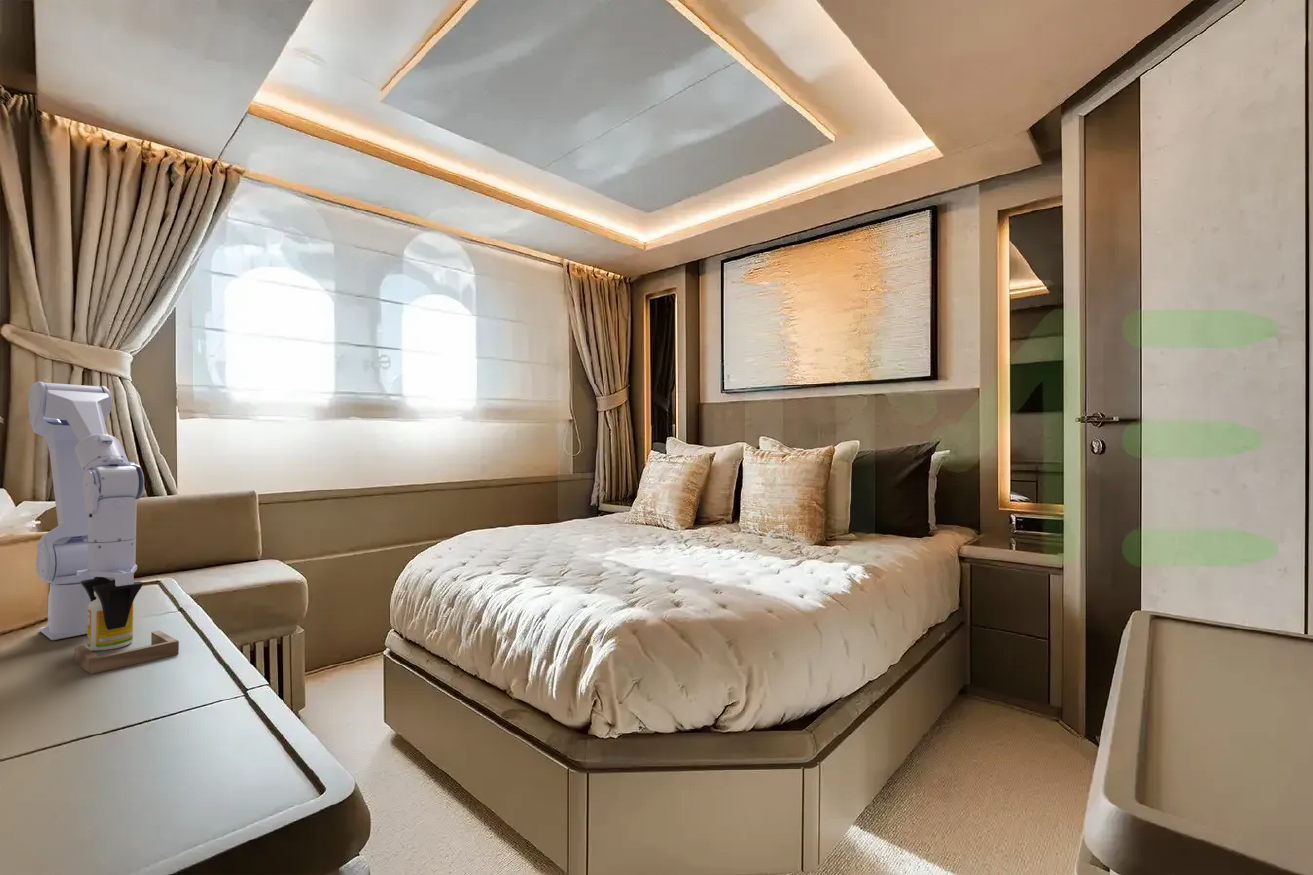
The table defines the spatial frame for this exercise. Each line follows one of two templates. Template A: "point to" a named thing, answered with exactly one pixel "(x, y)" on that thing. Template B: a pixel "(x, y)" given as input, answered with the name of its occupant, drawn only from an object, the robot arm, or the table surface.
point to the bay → (127, 654)
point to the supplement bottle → (100, 634)
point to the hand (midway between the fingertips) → (110, 624)
